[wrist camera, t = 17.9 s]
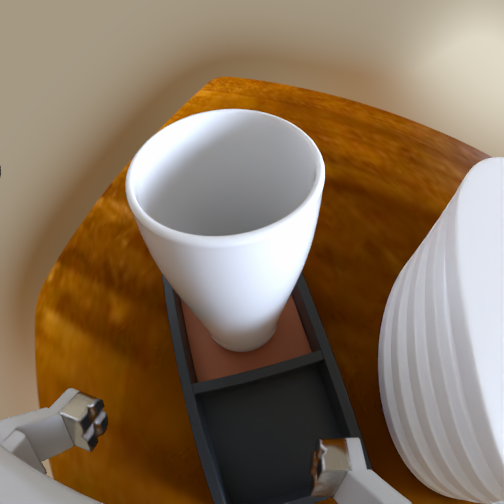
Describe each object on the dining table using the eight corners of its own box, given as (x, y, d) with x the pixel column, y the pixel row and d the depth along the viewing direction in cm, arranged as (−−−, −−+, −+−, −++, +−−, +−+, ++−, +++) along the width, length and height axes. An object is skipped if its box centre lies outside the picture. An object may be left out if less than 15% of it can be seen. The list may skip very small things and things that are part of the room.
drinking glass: (178, 322, 22) (88, 176, 9) (238, 263, 25) (222, 91, 12) (246, 382, 20) (226, 298, 7) (305, 313, 22) (363, 154, 10)
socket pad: (226, 512, 15) (221, 525, 12) (170, 282, 25) (160, 263, 22) (360, 472, 16) (375, 478, 13) (283, 255, 26) (286, 234, 23)
